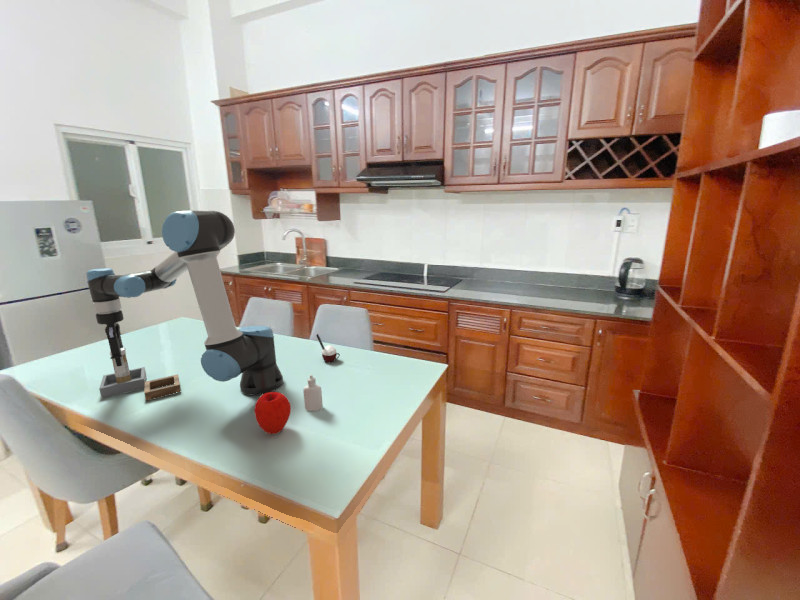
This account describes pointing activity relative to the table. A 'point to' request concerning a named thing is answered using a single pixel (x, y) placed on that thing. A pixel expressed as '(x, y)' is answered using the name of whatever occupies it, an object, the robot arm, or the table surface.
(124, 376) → the sprinkles bottle
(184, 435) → the table surface
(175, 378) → the walnut collar
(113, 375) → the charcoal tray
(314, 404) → the eye dropper bottle
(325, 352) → the cocoa
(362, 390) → the table surface
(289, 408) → the apple
